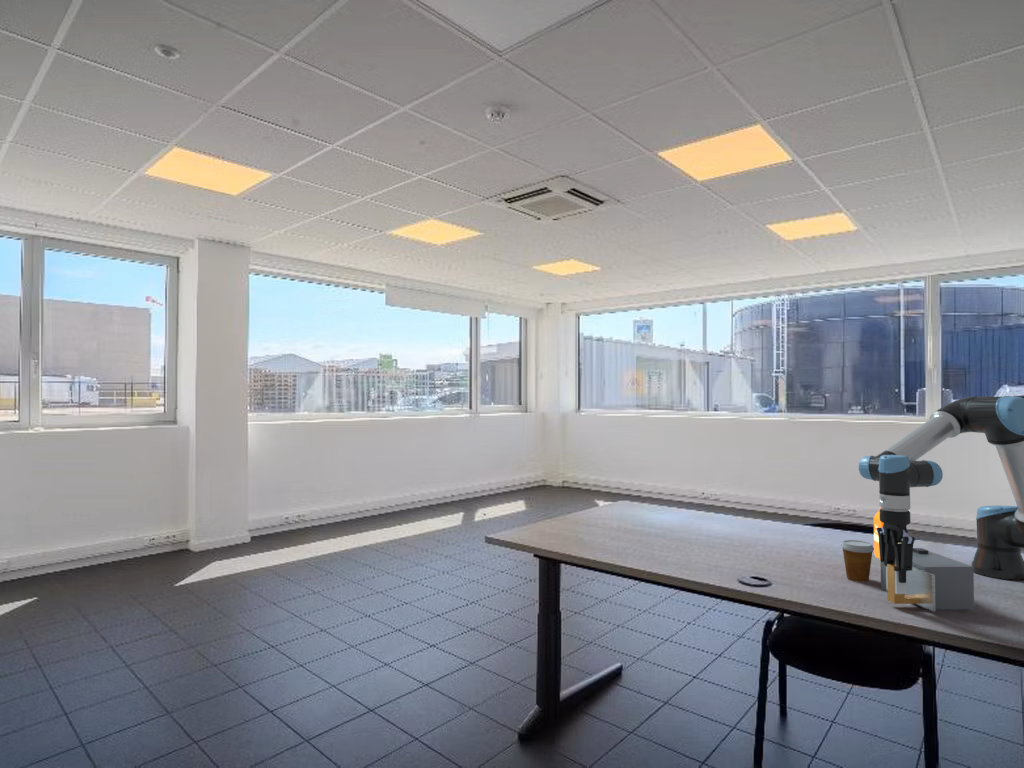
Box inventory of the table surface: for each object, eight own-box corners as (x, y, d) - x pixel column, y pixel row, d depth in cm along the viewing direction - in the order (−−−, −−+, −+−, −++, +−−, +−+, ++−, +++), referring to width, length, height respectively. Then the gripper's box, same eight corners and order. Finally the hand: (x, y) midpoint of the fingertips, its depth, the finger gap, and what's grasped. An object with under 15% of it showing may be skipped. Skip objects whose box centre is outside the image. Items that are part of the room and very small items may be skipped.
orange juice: (896, 556, 230) (895, 503, 230) (905, 562, 221) (904, 507, 222) (873, 555, 232) (872, 502, 232) (881, 561, 223) (880, 506, 224)
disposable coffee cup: (837, 579, 201) (836, 542, 201) (846, 573, 208) (846, 538, 208) (869, 585, 194) (869, 547, 194) (878, 579, 201) (877, 543, 201)
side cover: (903, 596, 181) (903, 558, 181) (935, 611, 168) (934, 571, 168) (876, 596, 180) (876, 559, 181) (906, 611, 168) (905, 571, 168)
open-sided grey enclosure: (924, 587, 192) (923, 546, 193) (974, 609, 172) (973, 563, 173) (880, 587, 192) (880, 546, 192) (925, 609, 172) (924, 563, 172)
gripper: (864, 504, 183) (866, 583, 182) (900, 514, 167) (901, 600, 166) (889, 504, 183) (890, 582, 182) (927, 514, 167) (928, 600, 166)
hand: (896, 591), depth 174 cm, fingers closed on side cover, 3 cm apart
